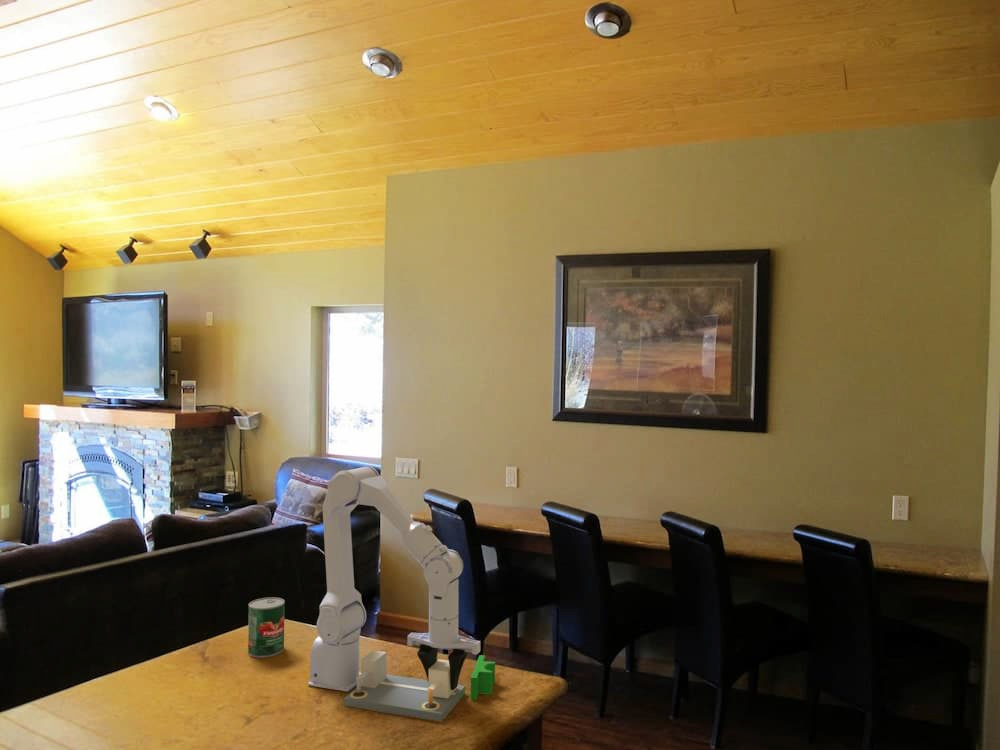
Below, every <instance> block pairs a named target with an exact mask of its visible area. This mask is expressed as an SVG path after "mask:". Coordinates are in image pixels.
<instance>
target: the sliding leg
mask: <svg viewBox="0 0 1000 750" xmlns="http://www.w3.org/2000/svg"><path fill="white" fill-rule="evenodd" d="M456 689H457V687H456V688H455V689H454V690H451V687H450V665H449V660H448V659H447V660H446V659H437V661H436V662H435V663H434V664H433V665H432V666H431V667H430V668H429V675H428V696H429V698H428V704H429V705H432V704H433V696H434V697H441V698H447V699H448V698H449V697H450V695H451V694H452V693H453V692H454V691H455V690H456Z"/></svg>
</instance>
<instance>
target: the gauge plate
mask: <svg viewBox="0 0 1000 750" xmlns="http://www.w3.org/2000/svg"><path fill="white" fill-rule="evenodd" d="M387 655H388V653H387V651H382V650H381V651H380V650H374V649H373V650H372V651H370V652H369V653H368V654H367V655H365V656H364V657H363V658H361V661H360V662H361V663H360V667H361V668H360V673H361V674H360V675H359V676H358V677H356V682H357V685H356V687H354V688H353V689H352V690H351V692H350V693H348V694H347V695H346V696H345V697H344V698H343V703H344V705H343V706H344V707H348V708H355V709H360V708H361V710H366V711H367V710H368V711H374V712H378V713H386V714H390V713H391V715H396V714H397V715H398V716H402V715H403V716H402V717H408V716H409V717H408V718H414V717H416V718H415V719H420V718H422V720H426V719H427V721H432V720H434V721H433V722H437V723H438V722H439V723H442V722H443V721H444V720H445V719H446V718H447V716H448V715H449V714H448V713H450V712H451V711H452V710H453V708H454V707H456V705H457V704H458V703H459V702H460V700H461V699H462V698H463V696H464V695H466V685H460V684H458V686H457V689H456V690H455V691H454V692H453V693H452V694H451V695H450V697H449V698H448V699H447V698H441V697H434V696H433V704H432V705H429V704H428V698H429V696H428V680H427V679H421V678H420V679H419V678H415V677H414V678H413V677H406V676H401V675H394V674H387V670H388V669H387V668H388V667H387V666H388V664H387V662H388V661H387V658H388V657H387ZM443 719H444V720H443Z"/></svg>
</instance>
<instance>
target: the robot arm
mask: <svg viewBox="0 0 1000 750" xmlns="http://www.w3.org/2000/svg"><path fill="white" fill-rule="evenodd" d="M323 500H324V501H323V502H322V520H323V523H322V524H323V538H324V539H323V540H324V542H323V543H324V557H325V575H326V594H325V595H324V597H323V599H322V601H321V603H320V604H319V615H318V618H317V621H316V631H317V634H318V636H317V637H316V638H315V639H314V641H313V643H312V645H311V649H310V657H309V658H310V662H309V663H310V666H309V668H310V671H309V672H310V674H309V676H310V678H309V679H310V681H308V683H307V686H311V687H317V688H322V689H327V690H328V689H329V690H335V691H342V692H350V691H352V690H353V689H355V688H356V687H357V682H356V677H358V676H359V675H360V674H361V671H360V643H361V642H360V638H361V635H360V634H361V631H362V630H361V628H362V627H363V626H364V625H365V623H366V621H367V611H366V608H365V606H364V604H363V601H362V594H361V593H360V592H359V590H357V589H356V588H355V577H354V576H355V575H354V560H353V559H354V558H353V542H352V524H351V512H352V511H354V509H355V508H356V507H357V506H358V505H363V506H370V507H375V509H376V510H377V511H378V512H379V513H380V514H381V515H383V517H384V518H385V519H387V521H388V522H389V523H390V524H391V525H392V526H393V527H394V528H395V529H396V530H397V531H398V532H399V533H400V534H401V543H402V545H403V546H404V548H405V549H406V550H407V551H408V552H409V553H410V555H412V557H413V558H414V559H415V560H416V561H417V563H418V564H419V565H420V566H421V567H422V568H423V569H424V570H422V571H423V577H424V579H425V582H427V584H428V632H410V633H409V634H408V635H407V640H406V641H407V643H406V644H407V646H408V647H413V646H419V650H418V651H417V652H416V653H417V657H418V658H419V660H420V662H421V664H422V666H423V668H424V672H425V675H426V678H427V679H426V680H428V675H429V668H430V667H431V666H432V665H433V664H434V663H435V662H436V661H437V660H438V652H439V650H440V649H441V650H449V651H452V652H451V653H450V654H449V655H447V660H448V661H449V665H450V687H451V690H454V689H455V688H456V687H457V686H458V685H459V679H460V675H461V671H462V669H463V665H464V663H465V662H466V661H465V660H466V658H467V656H468V654H469V653H471V654H472V655H476V656H477V655H478V654H479V653H480V652H481V640H476V639H471V638H467V637H465V636H462V635H459V593H460V592H459V577H460V575H462V573H463V569H464V561H463V559H462V557H461V556H460V554H459V552H458V551H456V550H454V549H449V548H448V547H447V545H445V544H443V543H442V542H441V541H440V540H439V539H438V537H437V536H435V534H434V533H433V532H432V531H433V528H432V527H431V526H430V525H426V524H425V523H424V522H416V521H415V520H414V519H413V517H411V516H410V514H409V513H408V511H406V509H405V507H404V506H403V505H402V504H401V502H400V501H399V500H398V499H397V498H396V496H395V494H393V492H392V490H390V489H389V487H388V485H387V481H386V479H385V478H384V477H383V476H382V475H380V473H379V472H378V470H377V469H376V468H374V467H372V466H369V465H364V466H360V467H358V468H353V469H348V470H347V469H346V470H340V471H338V472H336V473H335V474H333V476H332V477H331V478H330V479H329V480H328V481H327V493H326V495H325V498H324V499H323Z"/></svg>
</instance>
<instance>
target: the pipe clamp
mask: <svg viewBox="0 0 1000 750" xmlns="http://www.w3.org/2000/svg"><path fill="white" fill-rule="evenodd" d="M485 658H486V655H484V654H483V655H482V654H479V655H478V658H477V661H476V663H475V666H474V668H473V671H472V674H471V676H470V701H477V699H478V696H479V694H480V695H492V694H493V685H496V661H489V660H488V661H485V660H486V659H485Z"/></svg>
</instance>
